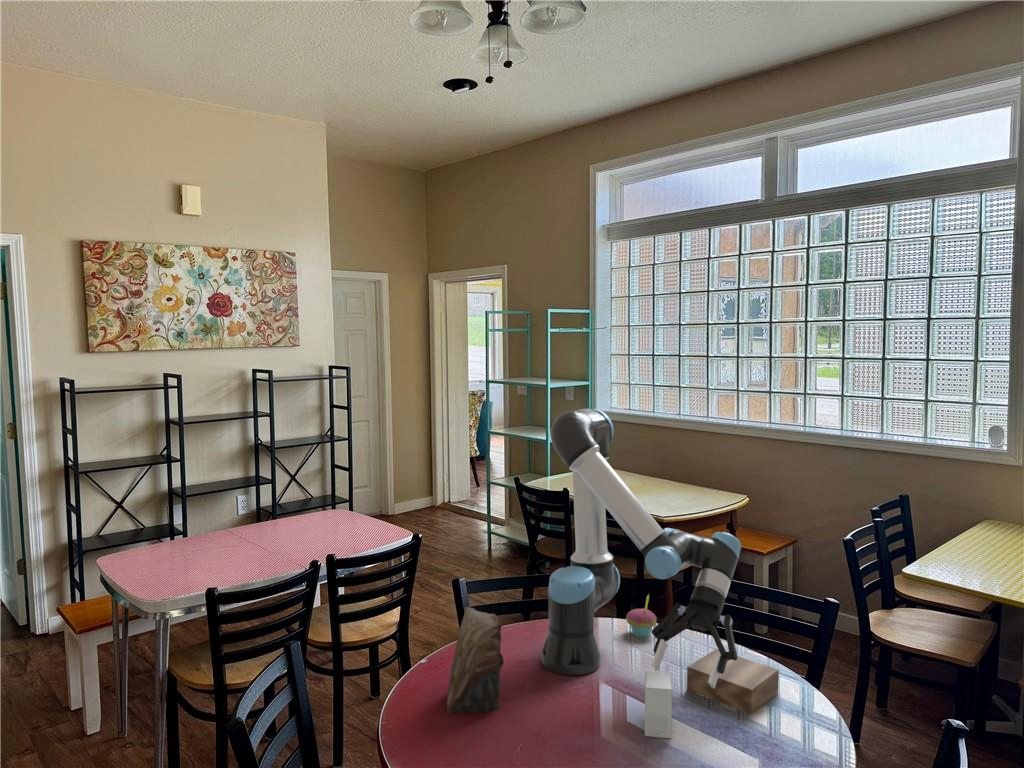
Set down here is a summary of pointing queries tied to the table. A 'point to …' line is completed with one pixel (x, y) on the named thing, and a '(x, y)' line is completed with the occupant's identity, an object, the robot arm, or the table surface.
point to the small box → (658, 704)
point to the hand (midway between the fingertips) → (682, 676)
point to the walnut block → (734, 682)
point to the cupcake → (641, 620)
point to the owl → (476, 665)
